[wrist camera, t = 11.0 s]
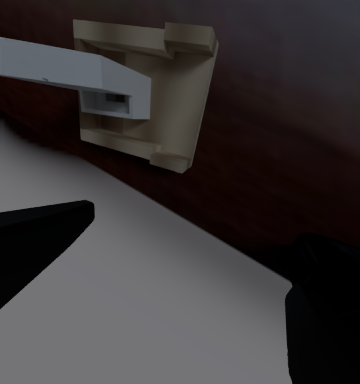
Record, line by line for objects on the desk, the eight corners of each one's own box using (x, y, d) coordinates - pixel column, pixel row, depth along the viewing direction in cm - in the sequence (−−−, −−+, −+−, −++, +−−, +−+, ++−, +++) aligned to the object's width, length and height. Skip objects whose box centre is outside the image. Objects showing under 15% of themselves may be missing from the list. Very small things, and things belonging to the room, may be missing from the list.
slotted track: (218, 44, 15) (212, 25, 12) (191, 165, 20) (181, 174, 16) (102, 30, 17) (72, 11, 14) (103, 140, 22) (81, 144, 19)
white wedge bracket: (46, 66, 17) (-34, 30, 9) (149, 82, 19) (155, 65, 11) (54, 107, 18) (-10, 106, 11) (148, 117, 21) (152, 123, 13)
